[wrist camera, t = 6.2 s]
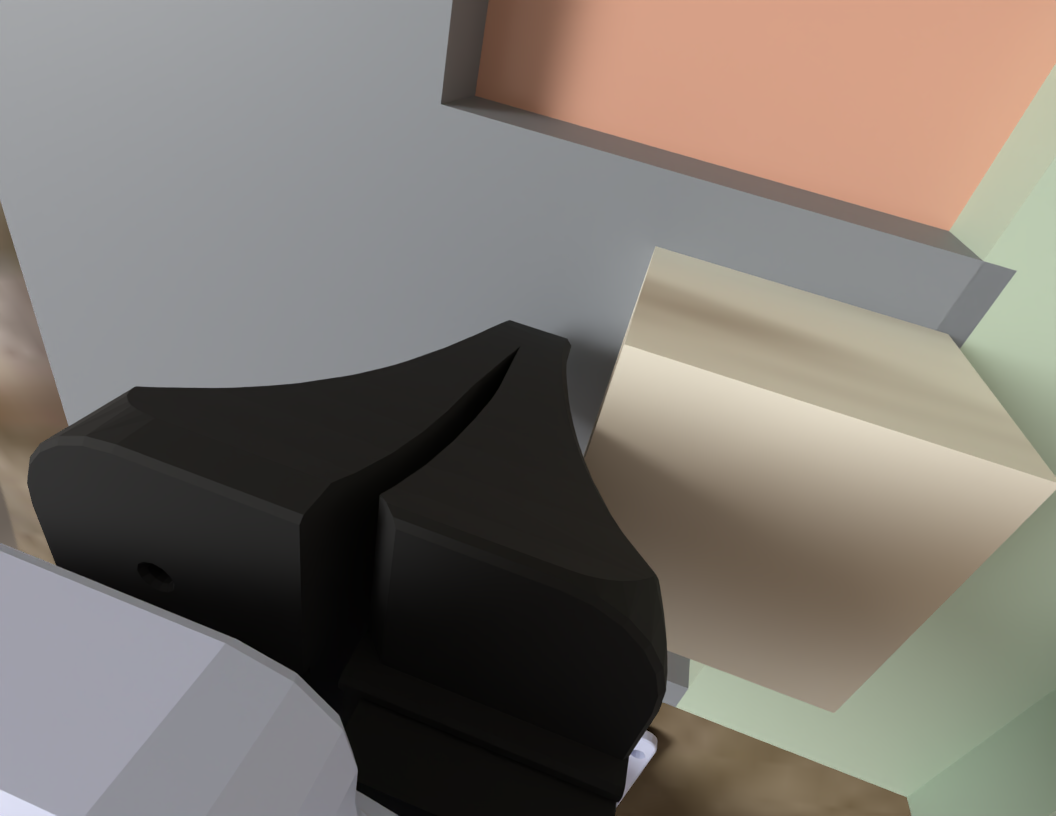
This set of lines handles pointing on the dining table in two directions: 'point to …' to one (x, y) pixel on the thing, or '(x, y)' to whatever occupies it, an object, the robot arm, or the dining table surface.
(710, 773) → the dining table surface
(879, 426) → the cream block
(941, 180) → the board
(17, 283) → the dining table surface
